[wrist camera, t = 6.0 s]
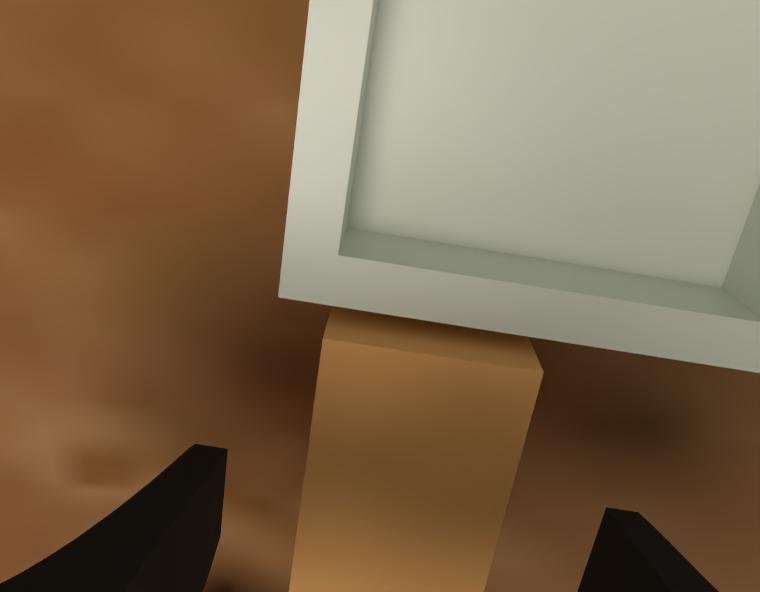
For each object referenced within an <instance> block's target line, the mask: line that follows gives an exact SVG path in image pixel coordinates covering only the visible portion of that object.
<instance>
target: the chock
mask: <svg viewBox="0 0 760 592" xmlns="http://www.w3.org/2000/svg"><path fill="white" fill-rule="evenodd" d="M543 373H544V372H543V369H542V367H541V365H540V362H539V360H538V358H537V355H536V353H535V351H534V348H533V346H532V344H531V341H530V339H529V337H527V336H521V335H515V334H508V333H502V332H495V331H489V330H483V329H476V328H470V327H464V326H457V325H451V324H445V323H438V322H432V321H425V320H419V319H413V318H406V317H400V316H394V315H387V314H381V313H375V312H368V311H362V310H356V309H349V308H343V307H336V306H332V307H331V310H330V314H329V318H328V321H327V325H326V329H325V332H324V336H323V341H322V348H321V356H320V363H319V370H318V378H317V385H316V393H315V400H314V408H313V415H312V423H311V430H310V437H309V445H308V452H307V460H306V467H305V475H304V482H303V490H302V497H301V504H300V512H299V519H298V527H297V534H296V542H295V549H294V557H293V564H292V571H291V579H290V586H289V592H484V589H485V586H486V582H487V578H488V575H489V571H490V567H491V564H492V560H493V556H494V553H495V549H496V545H497V542H498V538H499V534H500V531H501V527H502V523H503V520H504V516H505V512H506V509H507V505H508V501H509V498H510V494H511V490H512V487H513V483H514V479H515V476H516V472H517V468H518V465H519V461H520V457H521V454H522V450H523V446H524V443H525V439H526V435H527V432H528V428H529V424H530V421H531V417H532V413H533V410H534V406H535V402H536V399H537V395H538V391H539V388H540V384H541V380H542V377H543Z"/></svg>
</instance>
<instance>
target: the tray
mask: <svg viewBox="0 0 760 592" xmlns="http://www.w3.org/2000/svg"><path fill="white" fill-rule="evenodd" d="M278 297H279V298H286V299H292V300H298V301H305V302H311V303H317V304H324V305H330V306H336V307H343V308H349V309H356V310H362V311H368V312H375V313H381V314H387V315H394V316H400V317H406V318H413V319H419V320H425V321H432V322H438V323H445V324H451V325H457V326H464V327H470V328H476V329H483V330H489V331H495V332H502V333H508V334H515V335H521V336H527V337H534V338H540V339H546V340H553V341H559V342H565V343H572V344H578V345H585V346H591V347H597V348H604V349H610V350H616V351H623V352H629V353H635V354H642V355H648V356H655V357H661V358H667V359H674V360H680V361H686V362H693V363H699V364H705V365H712V366H718V367H724V368H731V369H737V370H744V371H750V372H756V373H760V0H310V2H309V11H308V21H307V30H306V39H305V49H304V58H303V68H302V77H301V86H300V96H299V105H298V115H297V124H296V134H295V143H294V152H293V162H292V171H291V181H290V190H289V199H288V209H287V218H286V228H285V237H284V246H283V256H282V265H281V275H280V284H279V294H278Z"/></svg>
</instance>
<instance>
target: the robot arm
mask: <svg viewBox="0 0 760 592" xmlns="http://www.w3.org/2000/svg"><path fill="white" fill-rule="evenodd" d="M227 450H228V449H225V448H218V447H212V446H205V445H199V444H195V445H193V446H192V447H190V448H189V449H188V450H186V451H185V452H184V453H183V454H182V455H181V456H180V457H179V458H177V459H176V460H175V461H174V462H173V463H172V464H171V465H170V466H168V467H167V468H166V469H165V470H164V471H163V472H161V473H160V474H159V475H158V476H157V477H156V478H154V479H153V480H152V481H151V482H150V483H149V484H147V485H146V486H145V487H144V488H142V489H141V490H140V491H139V492H137V493H136V494H135V495H134V496H132V497H131V498H130V499H129V500H127V501H126V502H125V503H124V504H122V505H121V506H120V507H119V508H117V509H116V510H115V511H113V512H112V513H111V514H109V515H108V516H107V517H105V518H104V519H102V520H101V521H100V522H98V523H97V524H96V525H94V526H93V527H91V528H90V529H89V530H87V531H86V532H84V533H83V534H82V535H80V536H79V537H77V538H76V539H74V540H73V541H71V542H70V543H68V544H67V545H65V546H64V547H62V548H61V549H59V550H58V551H56V552H55V553H53V554H52V555H50V556H48V557H47V558H45V559H43V560H42V561H40V562H38V563H37V564H35V565H34V566H32V567H30V568H29V569H27V570H25V571H23V572H22V573H20V574H18V575H16V576H14V577H12V578H10V579H8V580H7V581H5V582H3V583H1V584H0V592H202V591H203V589H204V587H205V584H206V580H207V577H208V574H209V571H210V568H211V565H212V562H213V558H214V555H215V552H216V548H217V545H218V542H219V539H220V533H221V521H222V509H223V498H224V486H225V474H226V462H227ZM578 592H719V591H718V590H717V589H715V588H714V587H713V586H712V585H711V584H710V583H709V582H708V581H707V580H706V579H705V578H704V577H703V576H702V575H701V574H700V573H699V572H698V571H697V570H696V569H695V568H694V567H693V566H692V565H691V564H690V563H689V562H688V561H687V560H686V559H685V558H684V557H683V556H682V555H681V554H680V553H679V552H678V551H677V550H676V549H675V548H674V547H673V546H672V545H671V544H670V542H669V541H668V540H667V539H665V538H664V537H663V536H662V535H661V534H660V533H659V532H658V531H657V530H656V529H655V528H654V527H653V526H652V525H651V524H650V523H649V522H648V521H647V520H646V519H645V518H644V517H643V516H642V515H640V514H639V513H638V512H632V511H625V510H619V509H612V508H606V510H605V513H604V516H603V519H602V522H601V525H600V527H599V530H598V533H597V536H596V539H595V542H594V545H593V548H592V551H591V554H590V557H589V560H588V563H587V565H586V568H585V571H584V574H583V577H582V580H581V583H580V586H579V589H578Z"/></svg>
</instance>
